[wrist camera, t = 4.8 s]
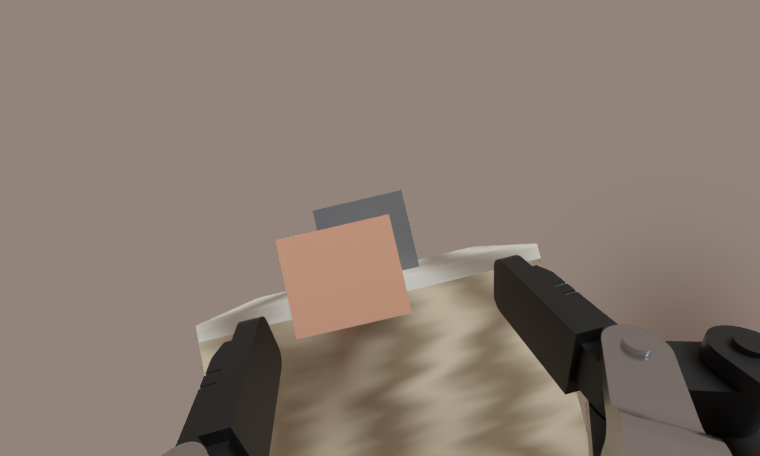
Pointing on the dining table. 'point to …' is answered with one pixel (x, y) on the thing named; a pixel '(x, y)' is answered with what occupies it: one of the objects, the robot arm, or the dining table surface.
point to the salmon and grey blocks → (349, 266)
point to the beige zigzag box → (416, 373)
